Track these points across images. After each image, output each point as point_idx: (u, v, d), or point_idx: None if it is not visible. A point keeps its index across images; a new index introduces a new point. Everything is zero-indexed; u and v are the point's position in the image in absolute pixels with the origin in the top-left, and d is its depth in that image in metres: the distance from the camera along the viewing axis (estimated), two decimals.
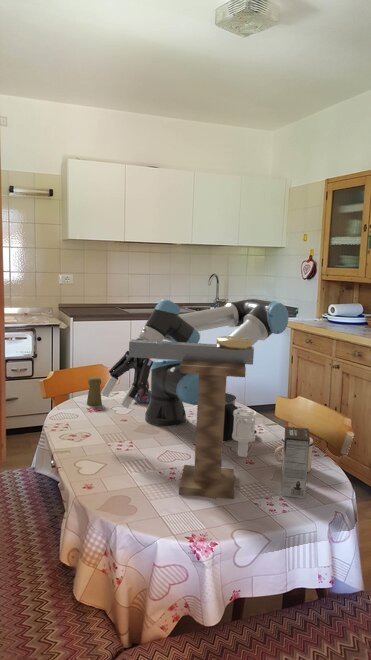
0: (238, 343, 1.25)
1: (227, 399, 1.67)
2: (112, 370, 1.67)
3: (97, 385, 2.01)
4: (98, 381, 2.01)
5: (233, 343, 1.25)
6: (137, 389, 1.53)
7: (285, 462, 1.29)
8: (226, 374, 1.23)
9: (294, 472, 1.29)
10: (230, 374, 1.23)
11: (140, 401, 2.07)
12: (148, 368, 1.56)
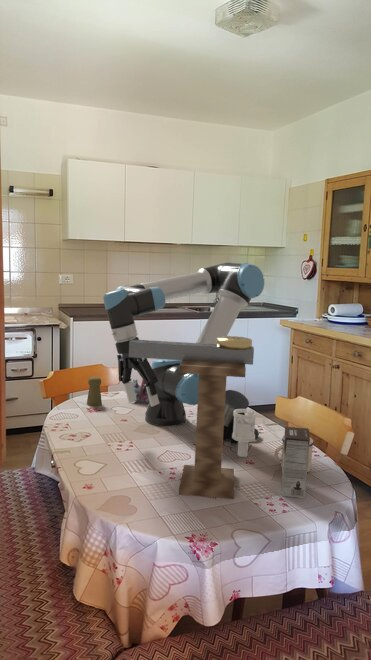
0: (238, 343, 1.25)
1: (239, 406, 1.62)
2: (121, 378, 1.66)
3: (97, 385, 2.01)
4: (98, 381, 2.01)
5: (233, 343, 1.25)
6: (153, 385, 1.53)
7: (285, 462, 1.29)
8: (226, 374, 1.23)
9: (294, 472, 1.29)
10: (230, 374, 1.23)
11: (139, 401, 2.07)
12: (146, 362, 1.53)
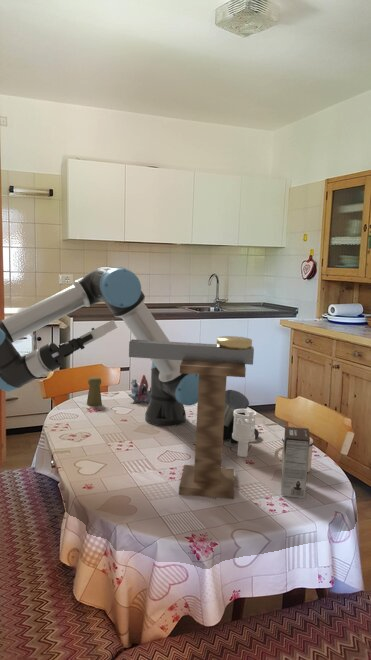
0: (238, 343, 1.25)
1: (239, 406, 1.62)
2: None
3: (97, 385, 2.01)
4: (98, 381, 2.01)
5: (233, 343, 1.25)
6: (81, 341, 1.35)
7: (285, 462, 1.29)
8: (226, 374, 1.23)
9: (294, 472, 1.29)
10: (230, 374, 1.23)
11: (138, 400, 2.08)
12: (59, 351, 1.37)
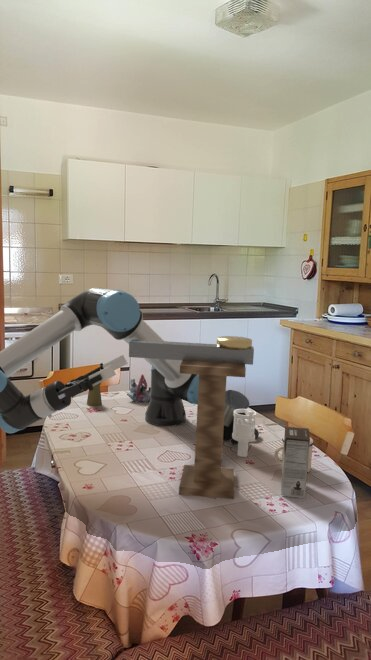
0: (238, 343, 1.25)
1: (240, 406, 1.62)
2: None
3: (97, 385, 2.01)
4: None
5: (233, 343, 1.25)
6: (89, 382, 1.26)
7: (285, 462, 1.29)
8: (226, 374, 1.23)
9: (294, 472, 1.29)
10: (230, 374, 1.23)
11: (136, 400, 2.08)
12: (65, 392, 1.28)
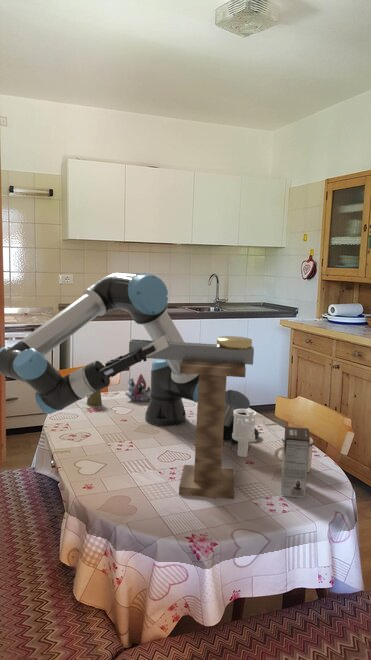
0: (238, 343, 1.25)
1: (240, 406, 1.62)
2: None
3: None
4: None
5: (233, 343, 1.25)
6: (143, 353, 1.28)
7: (285, 462, 1.29)
8: (226, 374, 1.23)
9: (294, 472, 1.29)
10: (230, 374, 1.23)
11: (134, 399, 2.09)
12: (115, 366, 1.27)
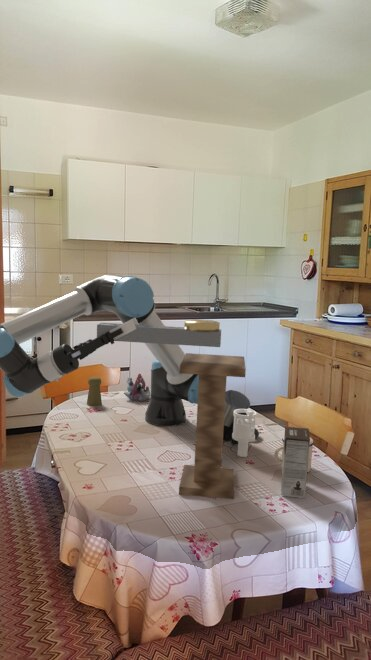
0: (205, 325, 1.25)
1: (241, 406, 1.62)
2: None
3: (97, 385, 2.01)
4: (98, 381, 2.01)
5: (200, 325, 1.25)
6: (110, 335, 1.28)
7: (285, 462, 1.29)
8: (226, 374, 1.23)
9: (294, 472, 1.29)
10: (230, 374, 1.23)
11: (133, 399, 2.10)
12: (82, 349, 1.27)
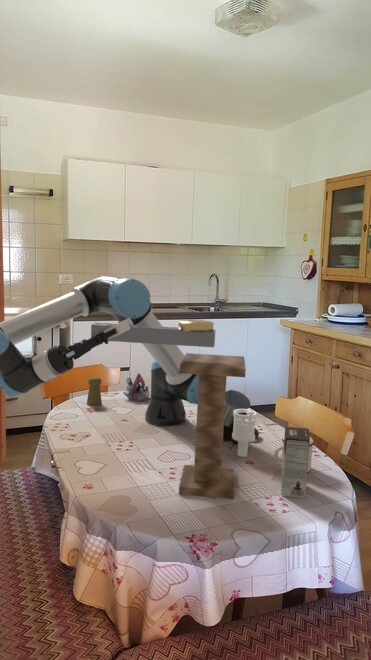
0: (198, 325, 1.25)
1: (241, 406, 1.62)
2: None
3: (97, 385, 2.01)
4: (98, 381, 2.01)
5: (193, 325, 1.25)
6: (105, 335, 1.28)
7: (285, 462, 1.29)
8: (226, 374, 1.23)
9: (294, 472, 1.29)
10: (230, 374, 1.23)
11: (132, 398, 2.10)
12: (76, 349, 1.28)
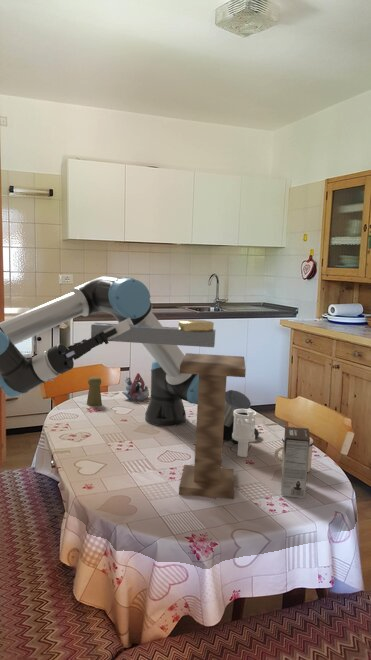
0: (198, 325, 1.25)
1: (241, 406, 1.61)
2: None
3: (97, 385, 2.01)
4: (98, 381, 2.01)
5: (193, 325, 1.25)
6: (105, 335, 1.28)
7: (285, 462, 1.29)
8: (226, 374, 1.23)
9: (294, 472, 1.29)
10: (230, 374, 1.23)
11: (131, 398, 2.10)
12: (76, 349, 1.28)
